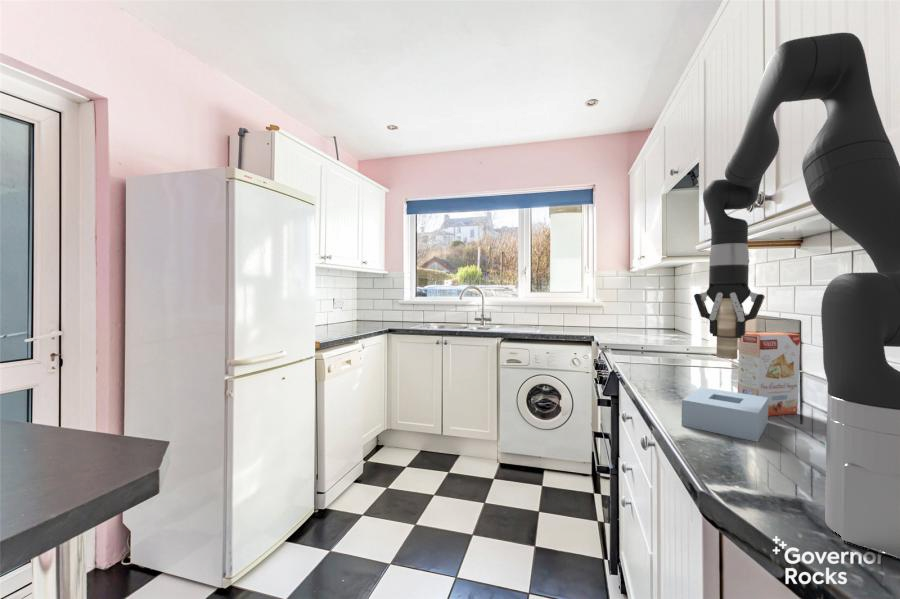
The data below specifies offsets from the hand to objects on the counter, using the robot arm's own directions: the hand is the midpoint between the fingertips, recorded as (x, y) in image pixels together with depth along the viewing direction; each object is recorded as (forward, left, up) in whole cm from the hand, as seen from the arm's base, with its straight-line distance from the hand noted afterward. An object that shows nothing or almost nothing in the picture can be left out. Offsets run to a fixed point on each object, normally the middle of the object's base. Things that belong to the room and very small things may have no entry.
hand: (727, 336), depth 92 cm
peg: (0, 0, -5) cm, 5 cm away
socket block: (0, 0, -21) cm, 21 cm away
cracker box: (+19, -6, -21) cm, 29 cm away
